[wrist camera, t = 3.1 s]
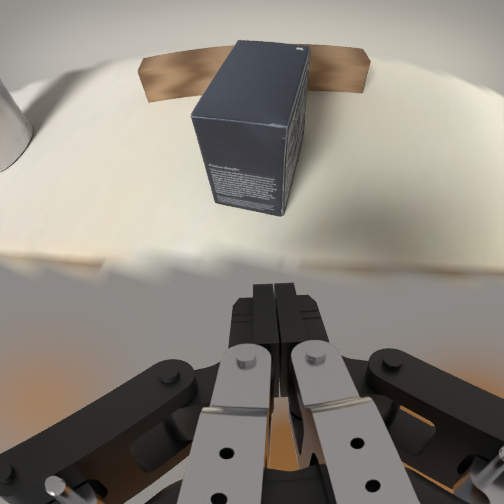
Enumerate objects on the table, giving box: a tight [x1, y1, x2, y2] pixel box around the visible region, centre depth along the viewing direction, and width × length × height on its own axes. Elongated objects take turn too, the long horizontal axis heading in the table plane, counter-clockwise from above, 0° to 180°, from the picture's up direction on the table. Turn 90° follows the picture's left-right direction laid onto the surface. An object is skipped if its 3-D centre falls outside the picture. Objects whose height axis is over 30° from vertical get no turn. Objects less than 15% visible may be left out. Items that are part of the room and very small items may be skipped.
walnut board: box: [138, 44, 371, 102], centre depth 31 cm, size 26×3×5 cm, turn 92°
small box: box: [191, 40, 311, 216], centre depth 23 cm, size 11×6×10 cm, turn 165°
